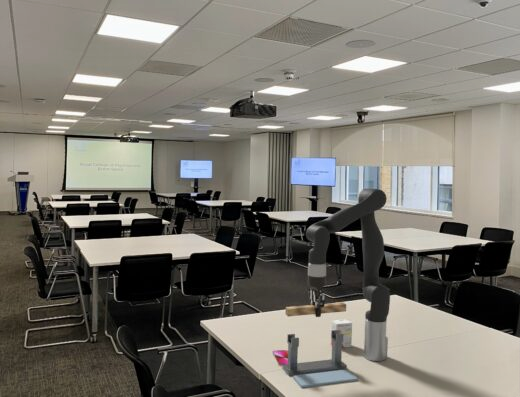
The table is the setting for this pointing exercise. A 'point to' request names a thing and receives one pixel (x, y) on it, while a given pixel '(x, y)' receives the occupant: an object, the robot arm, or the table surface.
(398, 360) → the table surface
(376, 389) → the table surface
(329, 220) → the robot arm
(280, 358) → the smartphone
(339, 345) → the rack
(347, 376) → the mat
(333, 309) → the rail
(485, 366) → the table surface
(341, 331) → the ink box
